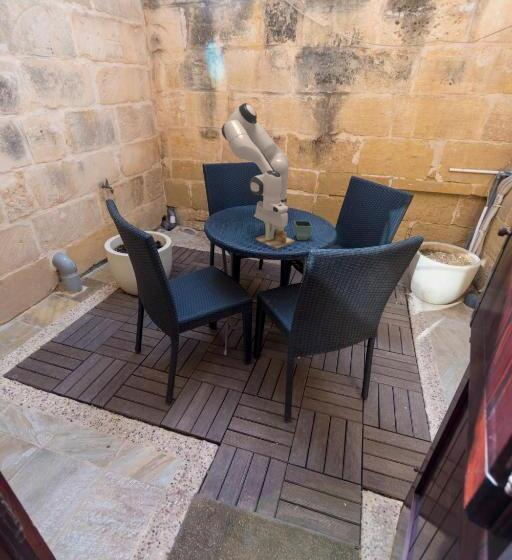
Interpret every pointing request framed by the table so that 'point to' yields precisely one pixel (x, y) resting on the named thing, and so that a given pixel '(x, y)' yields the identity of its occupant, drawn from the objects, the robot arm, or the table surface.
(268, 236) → the slot plate
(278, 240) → the tan piece
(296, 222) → the flower pot
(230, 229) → the table surface
